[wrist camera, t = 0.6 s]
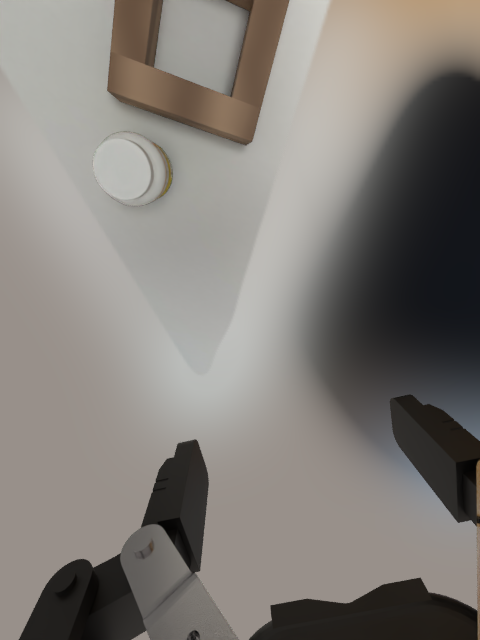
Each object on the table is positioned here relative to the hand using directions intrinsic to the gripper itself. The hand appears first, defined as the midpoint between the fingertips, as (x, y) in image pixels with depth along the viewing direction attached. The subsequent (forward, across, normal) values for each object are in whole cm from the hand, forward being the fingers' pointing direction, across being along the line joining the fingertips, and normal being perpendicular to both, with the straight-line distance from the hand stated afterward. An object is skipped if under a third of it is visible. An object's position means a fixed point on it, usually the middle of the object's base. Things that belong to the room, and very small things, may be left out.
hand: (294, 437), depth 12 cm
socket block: (+21, 0, -24) cm, 32 cm away
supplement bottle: (+23, +8, -16) cm, 29 cm away
